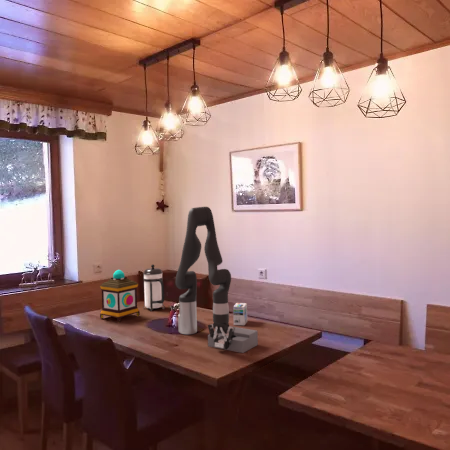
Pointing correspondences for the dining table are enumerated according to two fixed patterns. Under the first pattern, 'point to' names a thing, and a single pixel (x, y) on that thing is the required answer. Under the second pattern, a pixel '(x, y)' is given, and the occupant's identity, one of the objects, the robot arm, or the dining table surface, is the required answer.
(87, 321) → the dining table surface
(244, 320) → the light bulb box
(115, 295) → the decorative lantern
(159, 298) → the coffee press
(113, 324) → the dining table surface
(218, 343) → the pale flat bar
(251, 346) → the slot box
